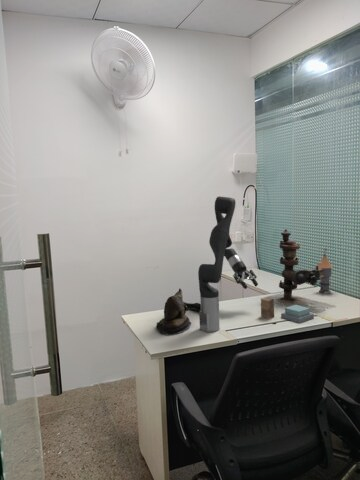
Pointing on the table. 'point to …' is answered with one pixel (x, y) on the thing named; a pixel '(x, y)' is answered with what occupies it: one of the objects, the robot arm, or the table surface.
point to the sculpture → (174, 316)
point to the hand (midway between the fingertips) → (251, 286)
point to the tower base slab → (297, 319)
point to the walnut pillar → (267, 307)
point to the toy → (193, 306)
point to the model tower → (324, 274)
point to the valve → (296, 278)
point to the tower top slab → (297, 310)
